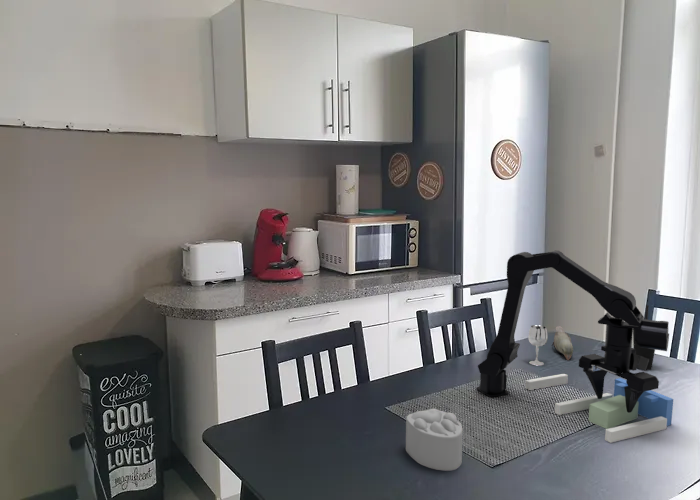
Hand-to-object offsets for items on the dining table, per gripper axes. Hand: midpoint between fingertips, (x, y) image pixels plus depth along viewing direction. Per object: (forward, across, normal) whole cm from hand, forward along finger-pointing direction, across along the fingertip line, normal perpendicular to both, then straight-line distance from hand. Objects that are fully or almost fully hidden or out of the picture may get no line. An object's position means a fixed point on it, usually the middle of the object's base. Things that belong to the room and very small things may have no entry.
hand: (614, 405), depth 133 cm
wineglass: (+4, +40, -12) cm, 42 cm away
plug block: (+4, 0, 0) cm, 4 cm away
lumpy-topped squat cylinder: (+4, +2, +50) cm, 50 cm away
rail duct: (+4, +8, 0) cm, 9 cm away
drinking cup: (+4, +24, -40) cm, 46 cm away
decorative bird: (+4, +45, -27) cm, 52 cm away
